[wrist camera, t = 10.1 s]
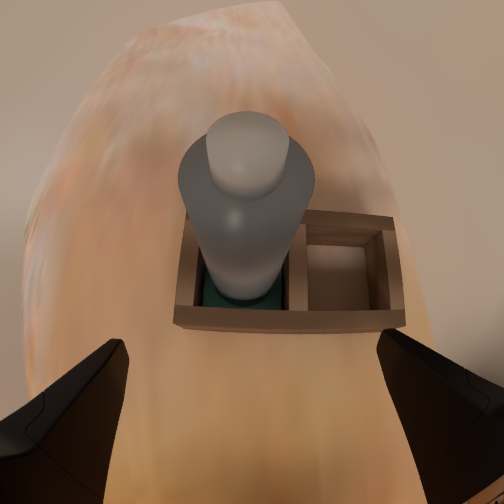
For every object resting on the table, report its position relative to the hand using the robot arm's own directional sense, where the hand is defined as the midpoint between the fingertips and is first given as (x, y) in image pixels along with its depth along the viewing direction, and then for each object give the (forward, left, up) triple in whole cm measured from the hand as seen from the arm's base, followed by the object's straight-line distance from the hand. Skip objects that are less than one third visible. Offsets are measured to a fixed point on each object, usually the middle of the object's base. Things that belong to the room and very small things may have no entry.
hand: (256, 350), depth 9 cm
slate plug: (+6, +1, -11) cm, 13 cm away
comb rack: (+6, -3, -12) cm, 13 cm away
